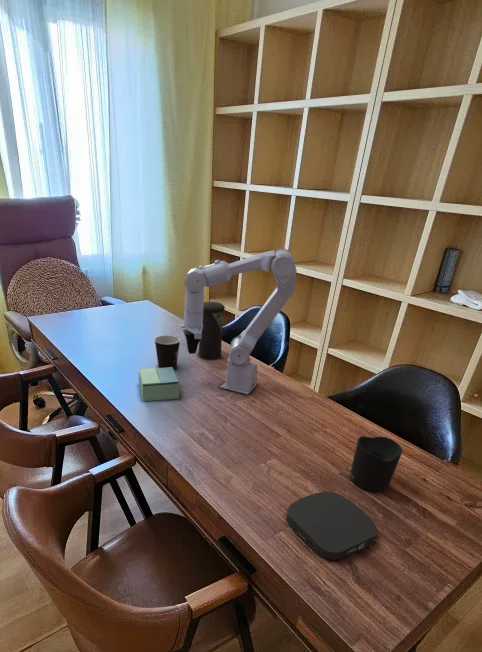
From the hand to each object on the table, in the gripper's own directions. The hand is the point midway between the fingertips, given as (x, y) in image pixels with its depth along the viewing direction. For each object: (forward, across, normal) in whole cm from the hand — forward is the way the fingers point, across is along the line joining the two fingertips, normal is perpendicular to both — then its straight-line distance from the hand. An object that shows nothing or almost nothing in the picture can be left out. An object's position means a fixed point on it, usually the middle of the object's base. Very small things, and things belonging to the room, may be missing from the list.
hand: (191, 352), depth 136 cm
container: (+11, -22, +12) cm, 27 cm away
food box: (+10, +5, -12) cm, 16 cm away
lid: (+5, +5, -9) cm, 12 cm away
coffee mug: (+11, -14, -4) cm, 19 cm away
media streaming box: (+10, +70, +14) cm, 72 cm away
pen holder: (+10, +58, +30) cm, 66 cm away
